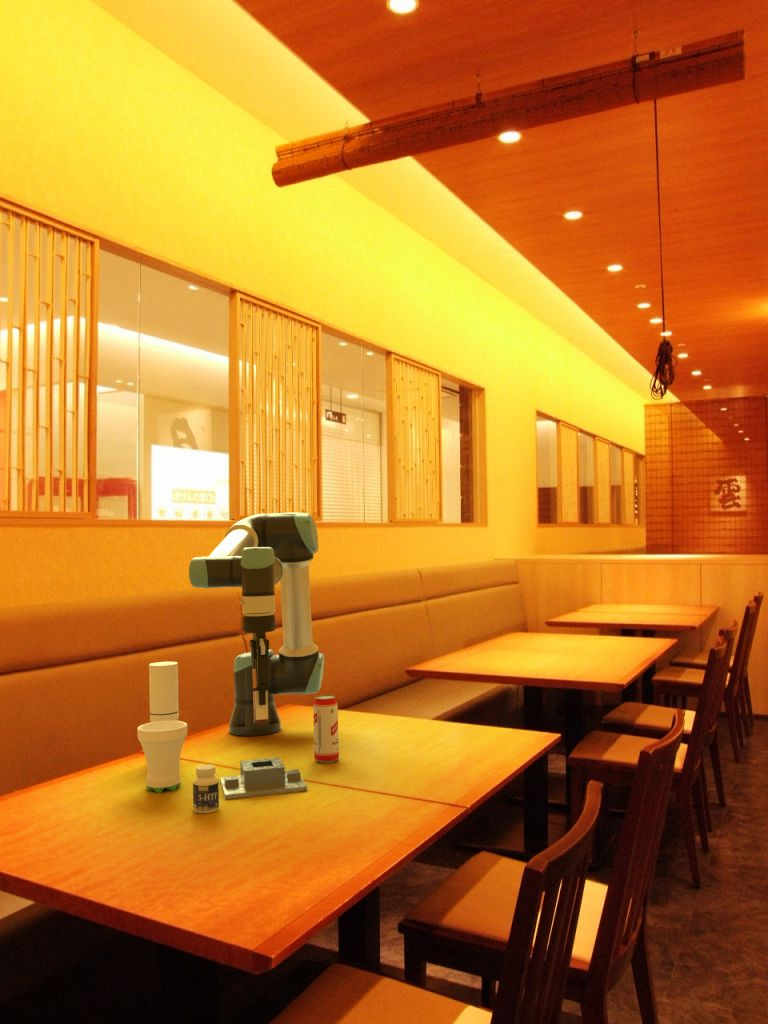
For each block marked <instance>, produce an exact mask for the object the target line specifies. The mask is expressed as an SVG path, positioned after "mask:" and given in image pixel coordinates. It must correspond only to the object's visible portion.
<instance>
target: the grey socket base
mask: <svg viewBox="0 0 768 1024" xmlns="http://www.w3.org/2000/svg"><path fill="white" fill-rule="evenodd" d="M239 763H240V764H239V765H240V768H239V769H240V775H228V776H223V777H219V784H220V786H222V787H221V789H222V792H223V797H224V800H234V799H242V798H251V797H260V796H270V795H278V794H279V795H280V794H288V793H296V792H297V793H299V792H306V791H308V785H307V783H306V782H305V780H304V779H303V778H302V775H301V772H300V770H299V769H289V770H288V769H287V770H286V767H285V765H284V763H283V762H282V760H281V758H280V757H279V756H278V757H271V758H270V757H269V758H260V759H248V760H240V762H239Z"/></svg>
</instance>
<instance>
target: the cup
mask: <svg viewBox="0 0 768 1024" xmlns="http://www.w3.org/2000/svg"><path fill="white" fill-rule="evenodd" d="M186 737H188V723H187V722H185V721H182V720H179V721H157V722H151V723H150V722H147V723H143V724H141V725H139V726H138V727H137V739H138V741H139V742H140V744H141V747H142V750H143V754H144V757H145V762H146V771H147V772H146V773H147V774H146V778H145V783H146V785H145V787H146V790H147V791H148V790H149V792H151V790H152V791H155V793H157V794H158V793H159V794H160V793H162V792H163V791H164V789H167V790H168V791H172V792H173V791H175V790H176V789H177V788H178V787H180V786H181V781H182V780H181V777H182V776H181V772H180V763H181V762H180V761H181V760H180V759H181V754H182V748H183V746H184V743H185V739H186Z"/></svg>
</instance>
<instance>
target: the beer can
mask: <svg viewBox="0 0 768 1024" xmlns="http://www.w3.org/2000/svg"><path fill="white" fill-rule="evenodd" d="M312 709H313V711H312V712H313V715H312V716H313V717H312V718H313V751H314V752H313V754H314V755H313V756H314V760H315V761H316V762H317V763H321V764H331V763H335V762H336V761H338V759H339V758H340V751H339V750H340V747H339V712H338V711H339V710H338V701H337V699H336V696H335V694H334V695H333V694H322V695H321V694H320V695H316V696H315V697H314V701H313V705H312Z"/></svg>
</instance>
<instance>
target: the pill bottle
mask: <svg viewBox="0 0 768 1024" xmlns="http://www.w3.org/2000/svg"><path fill="white" fill-rule="evenodd" d="M215 774H216V765H214V764H201V765H198V766H196V768H195V775H196V777H195V778H193V780H192V807H193V809H192V810H193V812H194V813H197V814H210V813H214V812H217V811H218V810H219V809H220V787H219V786H220V778H218V776H217V775H215Z"/></svg>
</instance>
